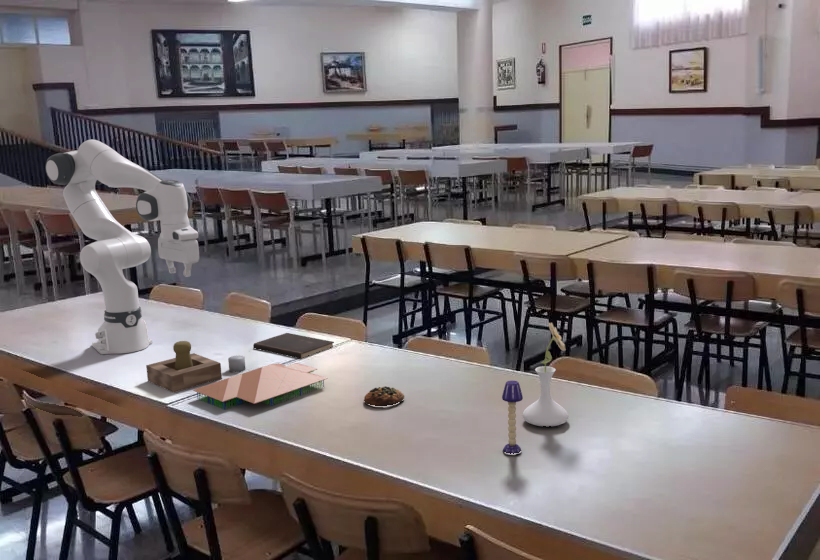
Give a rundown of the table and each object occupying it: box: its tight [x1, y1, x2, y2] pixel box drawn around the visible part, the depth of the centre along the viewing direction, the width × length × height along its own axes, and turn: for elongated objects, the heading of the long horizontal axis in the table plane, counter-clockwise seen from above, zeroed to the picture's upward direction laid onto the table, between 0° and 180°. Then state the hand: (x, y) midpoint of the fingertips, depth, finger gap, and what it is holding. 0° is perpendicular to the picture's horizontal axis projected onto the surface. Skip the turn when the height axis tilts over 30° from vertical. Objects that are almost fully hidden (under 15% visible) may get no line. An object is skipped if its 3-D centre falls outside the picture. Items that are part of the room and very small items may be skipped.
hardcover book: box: [253, 332, 335, 359], centre depth 268 cm, size 16×23×2 cm
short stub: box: [227, 354, 246, 373], centre depth 246 cm, size 5×5×4 cm
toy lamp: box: [501, 380, 523, 454], centre depth 177 cm, size 5×5×17 cm
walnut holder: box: [146, 352, 223, 393], centre depth 237 cm, size 16×16×5 cm
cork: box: [172, 340, 193, 371], centre depth 237 cm, size 6×6×11 cm
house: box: [192, 362, 328, 410], centre depth 224 cm, size 23×33×8 cm
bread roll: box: [363, 386, 405, 406], centre depth 214 cm, size 11×11×5 cm
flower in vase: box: [521, 322, 570, 428], centre depth 194 cm, size 13×11×25 cm
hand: (179, 274), depth 250 cm, fingers open, 8 cm apart
